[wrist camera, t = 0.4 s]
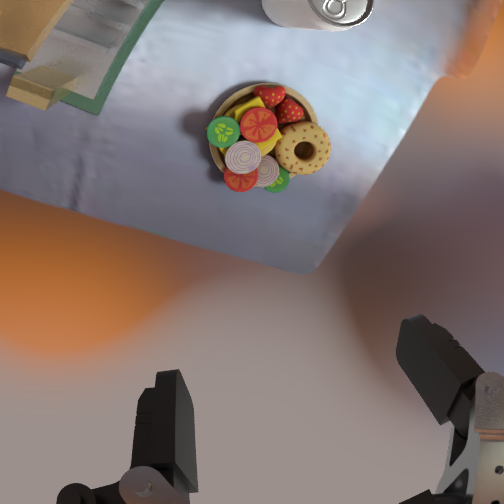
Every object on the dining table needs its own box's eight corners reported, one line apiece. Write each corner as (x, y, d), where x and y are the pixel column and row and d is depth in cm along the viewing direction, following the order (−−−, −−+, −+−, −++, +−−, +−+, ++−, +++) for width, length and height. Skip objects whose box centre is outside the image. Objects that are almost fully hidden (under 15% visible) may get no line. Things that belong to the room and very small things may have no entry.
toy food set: (331, 151, 39) (342, 162, 36) (244, 203, 41) (248, 217, 39) (285, 61, 30) (294, 65, 28) (183, 123, 33) (183, 132, 30)
